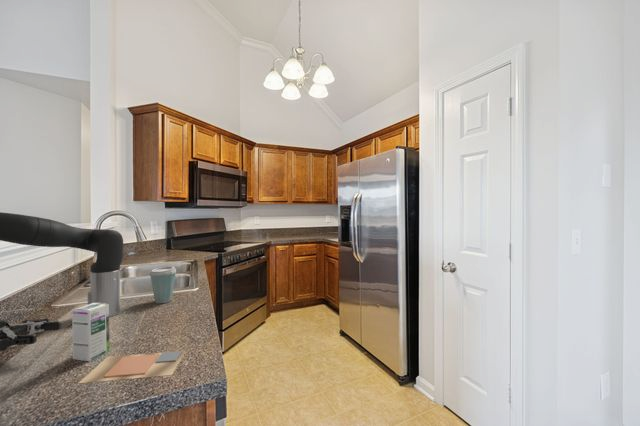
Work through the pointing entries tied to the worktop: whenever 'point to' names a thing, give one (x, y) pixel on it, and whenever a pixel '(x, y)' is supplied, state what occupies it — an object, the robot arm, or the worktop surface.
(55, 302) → the worktop surface
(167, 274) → the disposable coffee cup
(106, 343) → the syrup box
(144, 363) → the terracotta pad
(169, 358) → the slate tile
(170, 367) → the oak board
